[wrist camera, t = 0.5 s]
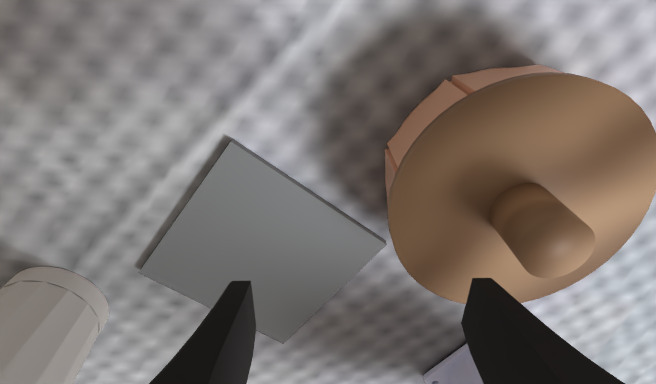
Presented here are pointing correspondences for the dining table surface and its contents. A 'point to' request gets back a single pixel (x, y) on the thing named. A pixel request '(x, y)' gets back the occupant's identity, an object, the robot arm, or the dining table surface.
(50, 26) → the dining table surface
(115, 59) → the dining table surface
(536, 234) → the lid
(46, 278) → the cup
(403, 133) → the bowl
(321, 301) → the mat
